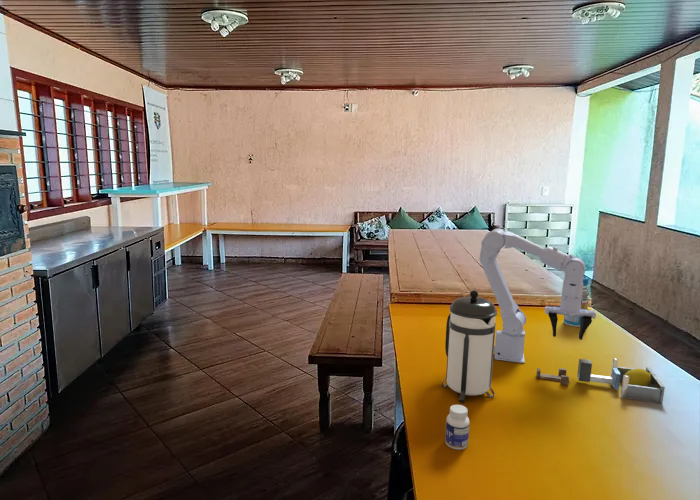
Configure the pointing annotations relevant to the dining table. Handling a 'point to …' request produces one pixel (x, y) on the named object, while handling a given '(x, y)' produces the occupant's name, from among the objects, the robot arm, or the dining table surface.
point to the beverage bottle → (584, 301)
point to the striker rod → (586, 375)
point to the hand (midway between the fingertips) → (567, 337)
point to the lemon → (638, 377)
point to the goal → (642, 393)
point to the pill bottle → (457, 427)
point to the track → (560, 377)
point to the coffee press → (470, 345)
